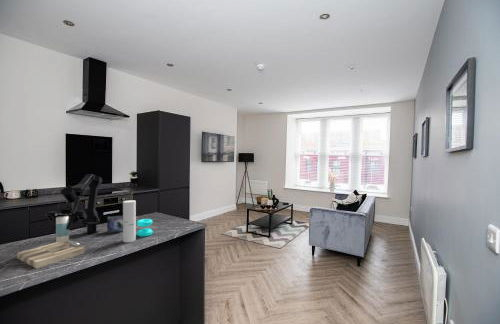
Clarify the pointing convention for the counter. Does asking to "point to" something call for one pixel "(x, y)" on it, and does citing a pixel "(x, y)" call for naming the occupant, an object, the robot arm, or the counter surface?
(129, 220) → the cylindrical container
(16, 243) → the counter surface
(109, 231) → the small box
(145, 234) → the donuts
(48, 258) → the light wood flat tray
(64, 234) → the white teal rounded cylinder
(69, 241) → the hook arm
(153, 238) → the counter surface
